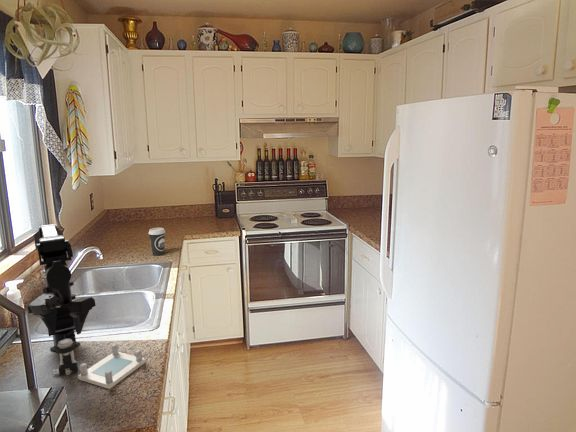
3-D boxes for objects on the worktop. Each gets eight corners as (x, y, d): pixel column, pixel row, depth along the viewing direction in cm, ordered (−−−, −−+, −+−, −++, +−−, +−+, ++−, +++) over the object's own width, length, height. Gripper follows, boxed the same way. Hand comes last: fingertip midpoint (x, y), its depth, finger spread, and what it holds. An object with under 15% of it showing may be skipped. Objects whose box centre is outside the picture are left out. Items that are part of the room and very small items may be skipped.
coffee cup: (167, 251, 236) (165, 226, 233) (167, 255, 227) (165, 230, 224) (150, 252, 233) (148, 228, 230) (149, 257, 224) (147, 231, 221)
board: (78, 379, 114) (76, 366, 113) (115, 354, 127) (114, 342, 126) (109, 389, 110) (108, 375, 109) (145, 362, 122) (144, 350, 121)
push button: (51, 380, 114) (47, 348, 112) (55, 370, 119) (51, 339, 117) (77, 375, 116) (73, 344, 114) (80, 365, 121) (76, 335, 119)
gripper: (6, 289, 108) (15, 345, 109) (62, 287, 103) (70, 345, 104) (41, 279, 119) (48, 329, 120) (93, 277, 114) (100, 329, 115)
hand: (65, 333), depth 114 cm, fingers open, 9 cm apart
